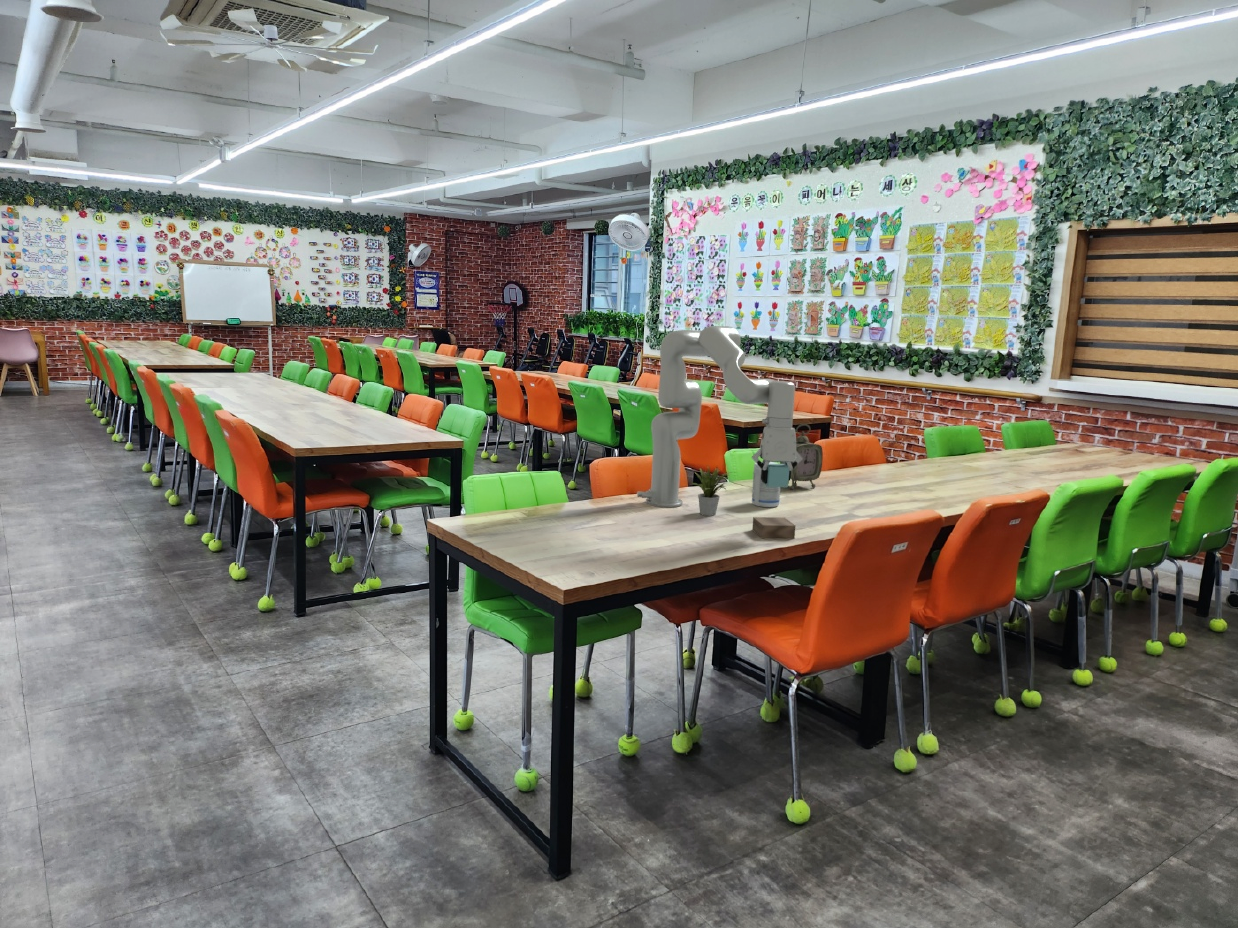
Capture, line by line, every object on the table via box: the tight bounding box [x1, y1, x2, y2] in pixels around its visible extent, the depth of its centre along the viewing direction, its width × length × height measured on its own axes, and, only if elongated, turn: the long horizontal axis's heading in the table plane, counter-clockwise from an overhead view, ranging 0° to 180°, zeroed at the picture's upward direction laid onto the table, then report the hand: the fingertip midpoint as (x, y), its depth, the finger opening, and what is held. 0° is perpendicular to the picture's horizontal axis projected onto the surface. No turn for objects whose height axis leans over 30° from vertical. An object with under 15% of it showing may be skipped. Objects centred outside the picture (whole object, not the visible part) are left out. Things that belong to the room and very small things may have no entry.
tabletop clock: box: [779, 423, 824, 490], centre depth 328 cm, size 14×9×25 cm, turn 119°
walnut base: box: [751, 516, 796, 539], centre depth 256 cm, size 10×10×4 cm
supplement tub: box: [751, 461, 781, 508], centre depth 295 cm, size 10×10×15 cm
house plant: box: [690, 465, 733, 517], centre depth 276 cm, size 14×14×16 cm
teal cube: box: [763, 463, 790, 488], centre depth 253 cm, size 6×6×6 cm
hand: (775, 482), depth 254 cm, fingers closed on teal cube, 6 cm apart
